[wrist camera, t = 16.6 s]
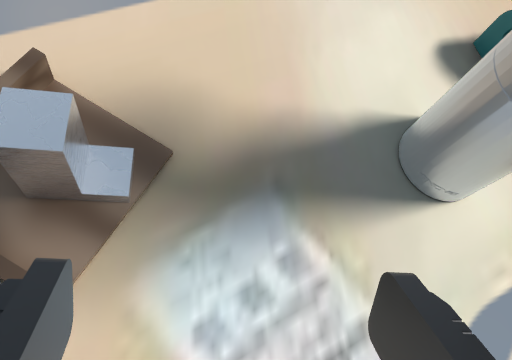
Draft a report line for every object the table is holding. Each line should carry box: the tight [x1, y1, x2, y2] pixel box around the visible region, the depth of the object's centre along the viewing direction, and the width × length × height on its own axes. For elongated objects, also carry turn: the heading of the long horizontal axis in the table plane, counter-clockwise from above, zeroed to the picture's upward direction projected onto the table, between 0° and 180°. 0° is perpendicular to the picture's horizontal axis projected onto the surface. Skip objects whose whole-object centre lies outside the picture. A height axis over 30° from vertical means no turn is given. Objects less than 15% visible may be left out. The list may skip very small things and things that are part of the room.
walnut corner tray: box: [0, 48, 173, 284], centre depth 34 cm, size 16×14×4 cm
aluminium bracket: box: [0, 87, 135, 203], centre depth 32 cm, size 8×4×9 cm, turn 91°
